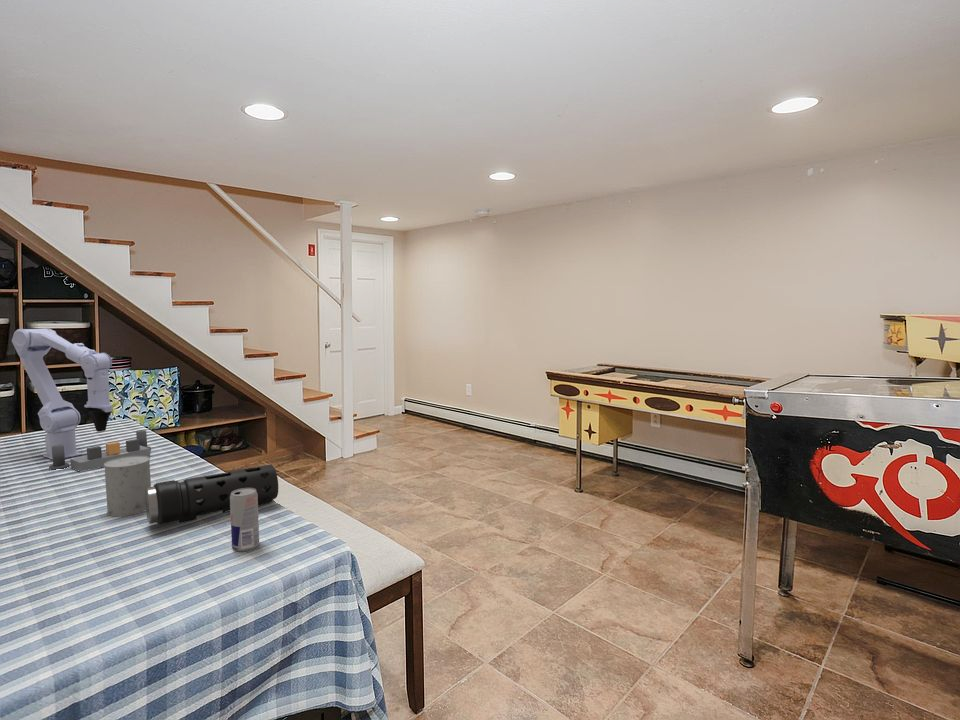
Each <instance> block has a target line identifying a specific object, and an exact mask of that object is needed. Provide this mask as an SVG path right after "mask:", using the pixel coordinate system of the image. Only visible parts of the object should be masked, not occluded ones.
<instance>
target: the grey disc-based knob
mask: <svg viewBox="0 0 960 720" xmlns="http://www.w3.org/2000/svg"><path fill="white" fill-rule="evenodd" d="M52 459H53V460H52ZM52 459H51V460H52V464H51V465H49V466H48V470H49V469H51V470H56V469H64V468H67V467H69V466H70V462H66V458H65V453H64V445H58V446H53V447H52ZM69 468H70V467H69ZM67 469H68V468H67ZM64 470H65V469H64Z"/></svg>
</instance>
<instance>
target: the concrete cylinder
mask: <svg viewBox="0 0 960 720" xmlns="http://www.w3.org/2000/svg"><path fill="white" fill-rule="evenodd" d="M150 460H151V457H147V456H128V457H122V458H117V459H113V460H110V461H107V462H105V463H104V467H103V468H104V479H105V493H106V495H105V496H106V507H107V508H106V509H107V510H106V513H107V515H108V516H112V517H126V516H133V515H136V514H140V513H143V512H146V505H145V489H146V488H148V487H152V483H151V482H152V480H151V479H152V478H151V466H150V465H151V464H150V463H151V462H150Z"/></svg>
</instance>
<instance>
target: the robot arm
mask: <svg viewBox="0 0 960 720" xmlns="http://www.w3.org/2000/svg"><path fill="white" fill-rule="evenodd" d="M11 343H12V345H13V346H14V349H15V351H16V354H17V355H18V356H19V359H20V362H21V363H22V366H23V368H24V370H25V372H26V373H27V376H28V378H29V379H30V382H31V384H32V385H33V388H34V389H35V392H36V394H37V396H38V398H39V400H40V402H41V404H42V407H41V408H40V409H39V411H38V412H37V415H38V418H39V424H40V427H41V428H42V430H43V431H45V433H46V434H45V436H44V437H45V438H44V440H45V442H44V443H45V453H43V454H42V456H43V457H44V458H48V459H50V460H51V461H53V459H52V447H53V446H58V445H64V453H65V459H67V458H72V457H76V456H77V457H79V456H81V455H82V453H81V452H79V451H78V450H77V440H76V439H77V438H76V429H77V428H78V425H79V424H80V423H81V414H80V412H79V411H78V409H76V408H75V406H74V405H73V403H71V402H69V401H66V400H65V399H63V397H62V395H61V393H60V391H59V389H58V387H57V385H56V383H55V381H54V378H53V377H52V374H51V373H50V371H49V369H48V367H47V365H46V363H45V361H44V356H45V355H47V354H48V353H49V352H50V350H51V349H52V348H53V349H55V350H57V351H60V352H63V353H64V354H65V355H64V356H65V357H66V358H67V359H69V360H70V361H72V362H74V363H77V364H78V365H80V367H81V369H82V370H83V372H84V376H85V378H86V385H87V401H86V404H84V406H83V407H84V408H86V409H87V408H89V409H90V408H92V410H87V411H86V412H87V414H88V415H89V416H90V418H91V420H92V422H93V426H94V428H95V430H96V432H98V433H100V432H105V431H106V430H107V425H108V421H109V418H110V416H111V414H112V412H114V407H113V405H112V403H111V402H110V401H111V398H110V384H109V382H110V381H109V370H110V368H112V365H113V360H112V357H111V356H110V354H107V352H97V351H96V350H95V349H90V348H88V347H87V346H85V344H84V343H83V342H80V343H79V342H77V343H75V342H74V343H71V342H70V341H68V340H67V339H66V338H63V337H62V336H60V335H59V334H57V332H56V330H53V329H51V328H48V327H43V328H25V329H24V328H18V329H16V330H15V331H14V333H13V336H12V339H11Z"/></svg>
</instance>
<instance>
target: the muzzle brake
mask: <svg viewBox="0 0 960 720" xmlns="http://www.w3.org/2000/svg"><path fill="white" fill-rule="evenodd" d="M241 488H254V489H256V492H257V494H258V506H261V504H262V505H267V504H271V503H273V501H274V500H276V499H277V497H278V495H279V479H278V473H277V470H276V468H275V466H274V465H273V464H266V465H261V466H255V467H249V468H242V469H237V470H233V471H232V470H231V471H226V472H220V473H213V474H209V475H203V476H197V477H191V478H186V479H184V480H183V481H181V482H179V481H178V480H175V479H173V480H167V481H161V482H156V483H154V484H153V486H151V487H148V488H146V489H145V505H146V511H145V513H146V518H147V519H146V520H147V522H148V525H152V524H155V523H156V524H157V525H165V524H170V523H173V522H179V523H180V524H182V523H186V522H190V521H192V522H193V521H196V520H197V518H198V517H200V516H204V515H205V516H206V515H210V514H214V513H218V512H221V513H223V514H224V513H227V512H228V511H229V512H230V495H231V492H232V491H234V490H237V489H241ZM270 502H271V503H270Z"/></svg>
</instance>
